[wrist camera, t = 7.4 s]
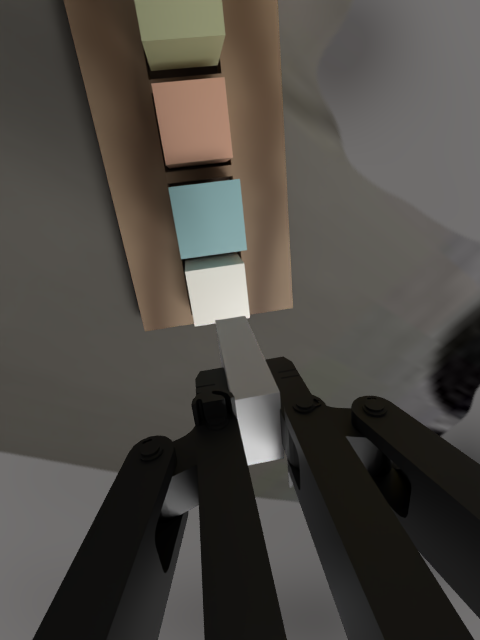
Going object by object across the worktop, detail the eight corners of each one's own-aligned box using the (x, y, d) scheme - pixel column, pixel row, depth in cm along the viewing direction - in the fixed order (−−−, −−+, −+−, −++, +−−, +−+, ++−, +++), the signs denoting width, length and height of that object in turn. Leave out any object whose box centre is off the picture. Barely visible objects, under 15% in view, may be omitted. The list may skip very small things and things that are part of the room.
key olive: (151, 70, 22) (141, 41, 18) (135, -18, 21) (120, -77, 16) (217, 65, 23) (225, 34, 18) (208, -22, 21) (213, -80, 16)
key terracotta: (169, 168, 27) (165, 165, 22) (157, 102, 25) (151, 83, 20) (225, 162, 27) (233, 157, 23) (217, 96, 25) (224, 77, 21)
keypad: (147, 321, 32) (145, 331, 30) (68, -10, 23) (55, -32, 20) (285, 299, 34) (292, 307, 31) (266, -22, 24) (275, -44, 22)
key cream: (193, 306, 31) (194, 326, 27) (185, 258, 30) (184, 271, 25) (241, 298, 32) (250, 317, 27) (235, 251, 30) (244, 263, 25)
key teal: (182, 247, 27) (181, 259, 23) (171, 187, 25) (168, 187, 21) (237, 239, 28) (247, 250, 23) (230, 180, 26) (240, 178, 21)
